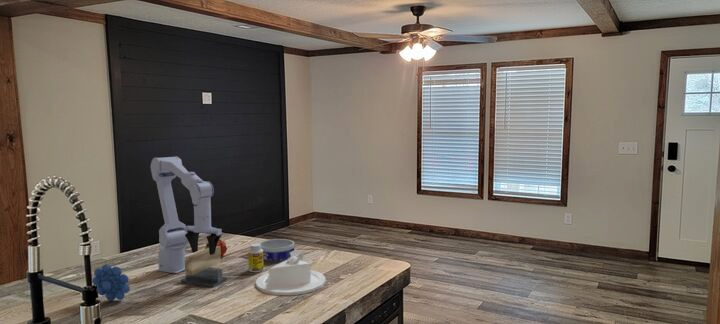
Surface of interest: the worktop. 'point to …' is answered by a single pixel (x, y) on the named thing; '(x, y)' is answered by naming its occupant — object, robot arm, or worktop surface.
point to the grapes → (111, 282)
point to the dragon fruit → (221, 244)
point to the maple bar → (201, 261)
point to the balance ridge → (206, 278)
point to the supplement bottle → (255, 258)
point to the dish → (291, 277)
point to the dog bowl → (276, 249)
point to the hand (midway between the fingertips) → (203, 252)
